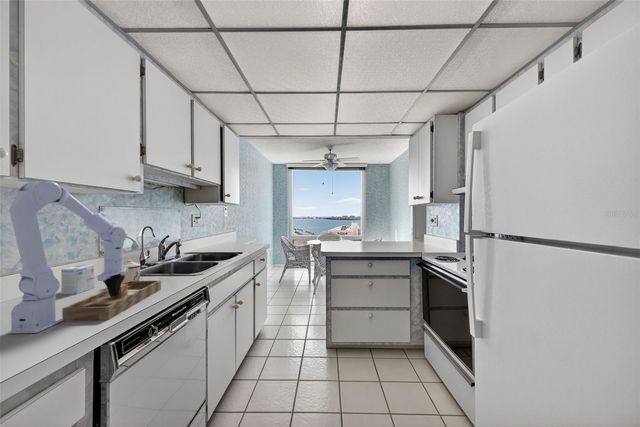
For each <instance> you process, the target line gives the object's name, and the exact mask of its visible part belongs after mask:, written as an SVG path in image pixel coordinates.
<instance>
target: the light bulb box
mask: <svg viewBox="0 0 640 427" xmlns="http://www.w3.org/2000/svg"><path fill="white" fill-rule="evenodd" d="M60 274H61V280H60V281H61V295H78V294H81V293H83V292H86V291H88V290H91V289H94V288H95V264H92V263H91V264H78V265H74V266H70V267H66V268H62V269H61V273H60Z"/></svg>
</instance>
